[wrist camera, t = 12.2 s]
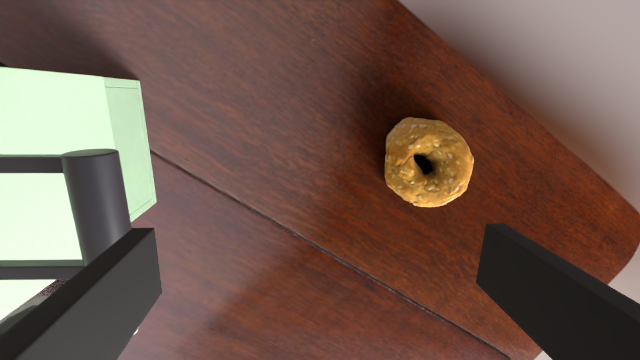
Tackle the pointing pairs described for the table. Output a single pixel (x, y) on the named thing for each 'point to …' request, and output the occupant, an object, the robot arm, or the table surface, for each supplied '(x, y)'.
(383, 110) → the table surface
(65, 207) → the lunchbox lid
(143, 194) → the box
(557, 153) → the table surface
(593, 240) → the table surface
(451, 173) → the bagel
